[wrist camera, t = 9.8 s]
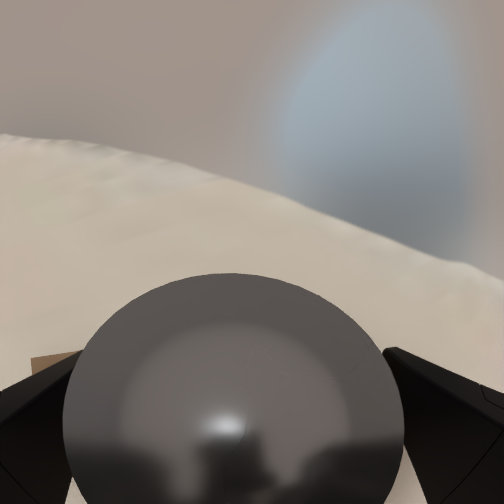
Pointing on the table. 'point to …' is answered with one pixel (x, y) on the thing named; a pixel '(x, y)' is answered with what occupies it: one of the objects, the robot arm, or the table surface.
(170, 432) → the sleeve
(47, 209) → the table surface
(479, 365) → the table surface
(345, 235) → the table surface
